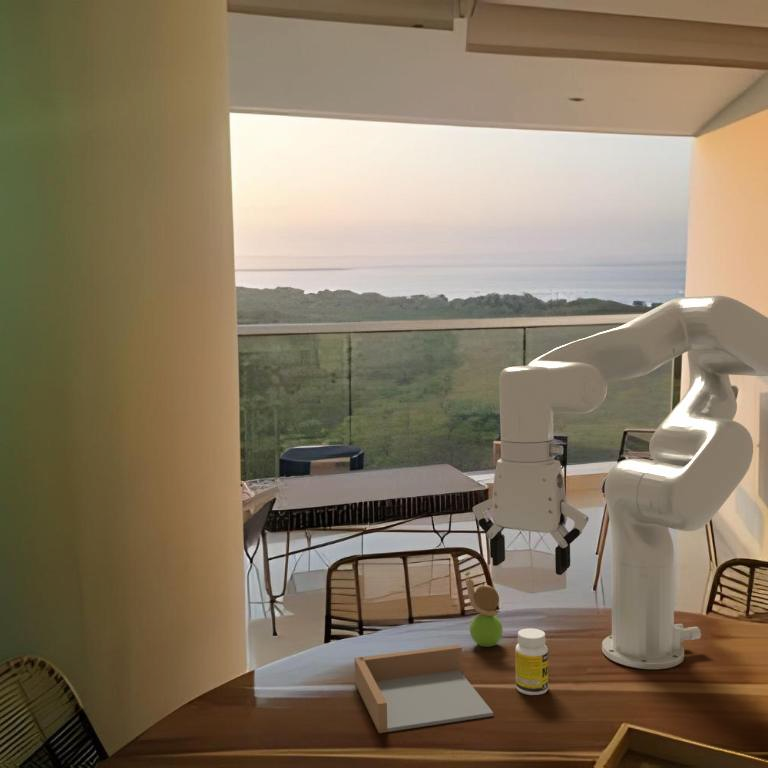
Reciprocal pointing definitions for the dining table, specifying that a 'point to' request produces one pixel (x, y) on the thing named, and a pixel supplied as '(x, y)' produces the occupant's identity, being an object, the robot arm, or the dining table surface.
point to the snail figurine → (484, 614)
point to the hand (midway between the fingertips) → (529, 567)
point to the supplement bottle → (531, 662)
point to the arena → (417, 689)
